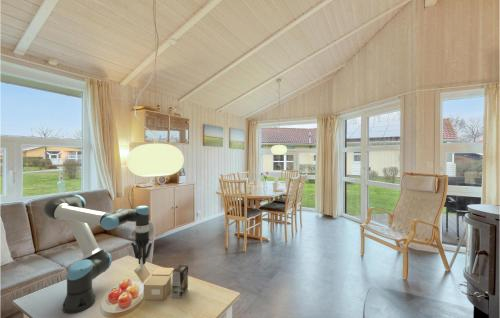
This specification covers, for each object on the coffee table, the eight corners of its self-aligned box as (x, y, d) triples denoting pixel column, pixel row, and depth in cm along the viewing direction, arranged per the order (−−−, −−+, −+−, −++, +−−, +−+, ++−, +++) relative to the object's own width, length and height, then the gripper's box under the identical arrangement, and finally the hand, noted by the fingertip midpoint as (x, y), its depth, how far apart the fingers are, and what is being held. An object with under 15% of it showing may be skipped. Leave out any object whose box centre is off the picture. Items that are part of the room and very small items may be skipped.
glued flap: (142, 283, 136) (134, 270, 136) (149, 274, 146) (141, 263, 146) (143, 282, 136) (135, 269, 136) (150, 273, 146) (142, 262, 146)
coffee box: (181, 299, 137) (181, 272, 137) (171, 297, 139) (172, 271, 139) (188, 290, 146) (188, 265, 146) (179, 289, 148) (179, 264, 147)
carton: (143, 300, 135) (143, 284, 135) (156, 281, 156) (157, 267, 156) (164, 300, 135) (164, 284, 135) (175, 281, 156) (175, 268, 156)
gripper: (128, 233, 137) (128, 272, 137) (150, 233, 137) (150, 272, 137) (134, 229, 145) (134, 266, 145) (155, 229, 145) (155, 266, 145)
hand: (142, 269), depth 141 cm, fingers closed
